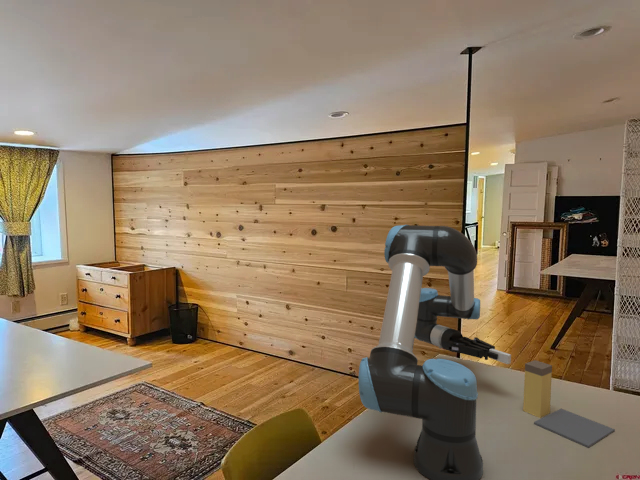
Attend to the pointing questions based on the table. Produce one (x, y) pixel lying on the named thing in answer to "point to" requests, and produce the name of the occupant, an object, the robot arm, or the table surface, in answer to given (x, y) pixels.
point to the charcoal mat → (574, 427)
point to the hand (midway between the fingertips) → (509, 359)
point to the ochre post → (537, 388)
